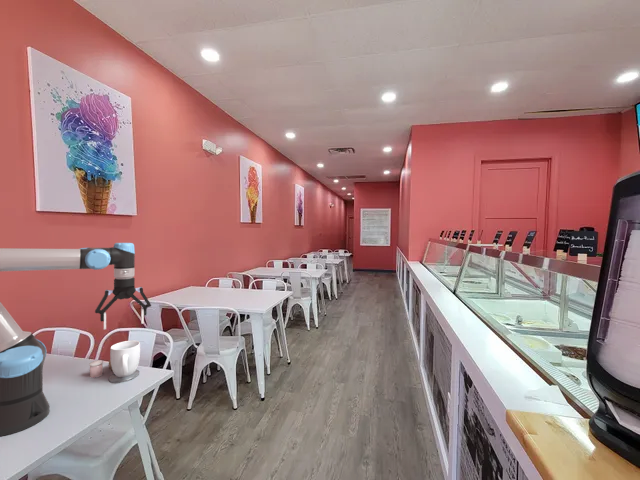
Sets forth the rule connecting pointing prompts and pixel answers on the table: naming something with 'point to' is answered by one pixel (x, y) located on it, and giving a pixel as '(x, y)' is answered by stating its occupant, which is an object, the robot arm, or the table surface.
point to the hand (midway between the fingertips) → (124, 325)
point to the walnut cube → (110, 365)
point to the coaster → (116, 379)
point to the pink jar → (96, 368)
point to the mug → (125, 358)
